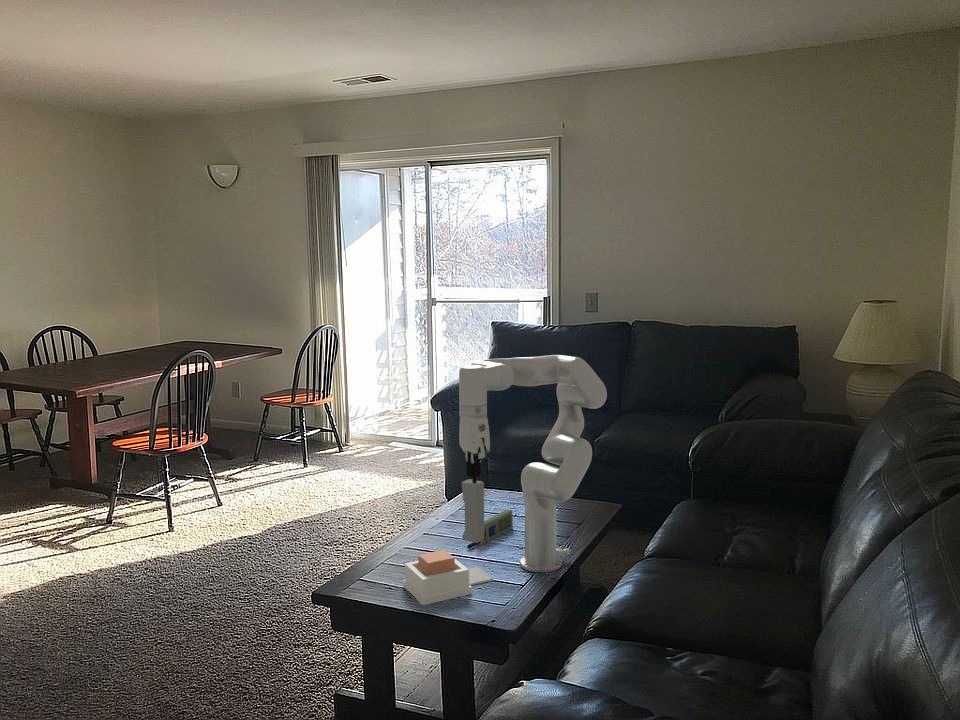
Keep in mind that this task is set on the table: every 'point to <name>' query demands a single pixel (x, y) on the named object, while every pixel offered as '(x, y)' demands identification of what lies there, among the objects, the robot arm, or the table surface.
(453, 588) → the frame
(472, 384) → the robot arm
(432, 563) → the button
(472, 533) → the vintage mobile phone
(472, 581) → the light gray square panel
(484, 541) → the handheld radio
